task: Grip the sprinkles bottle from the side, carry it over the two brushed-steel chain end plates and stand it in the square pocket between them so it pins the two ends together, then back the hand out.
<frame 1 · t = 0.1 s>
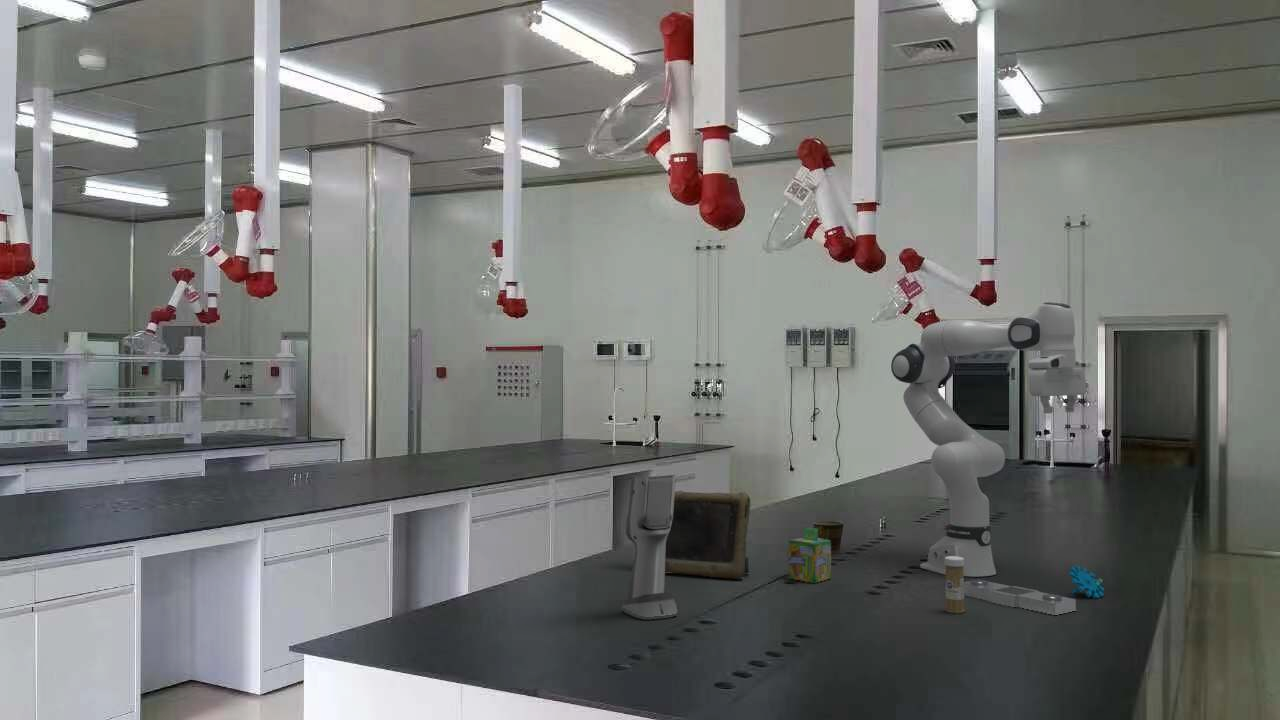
hand: (1059, 412, 265), 48 cm above the counter, tool pointing down, fingers open, 8 cm apart
chain ends: (1014, 602, 251), on the counter
chalk box: (810, 580, 283), on the counter
sprinkles bottle: (955, 612, 242), on the counter
thermal camera: (650, 614, 245), on the counter
ceramic cup: (826, 553, 325), on the counter
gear: (1087, 596, 258), on the counter
brown frame: (696, 574, 294), on the counter
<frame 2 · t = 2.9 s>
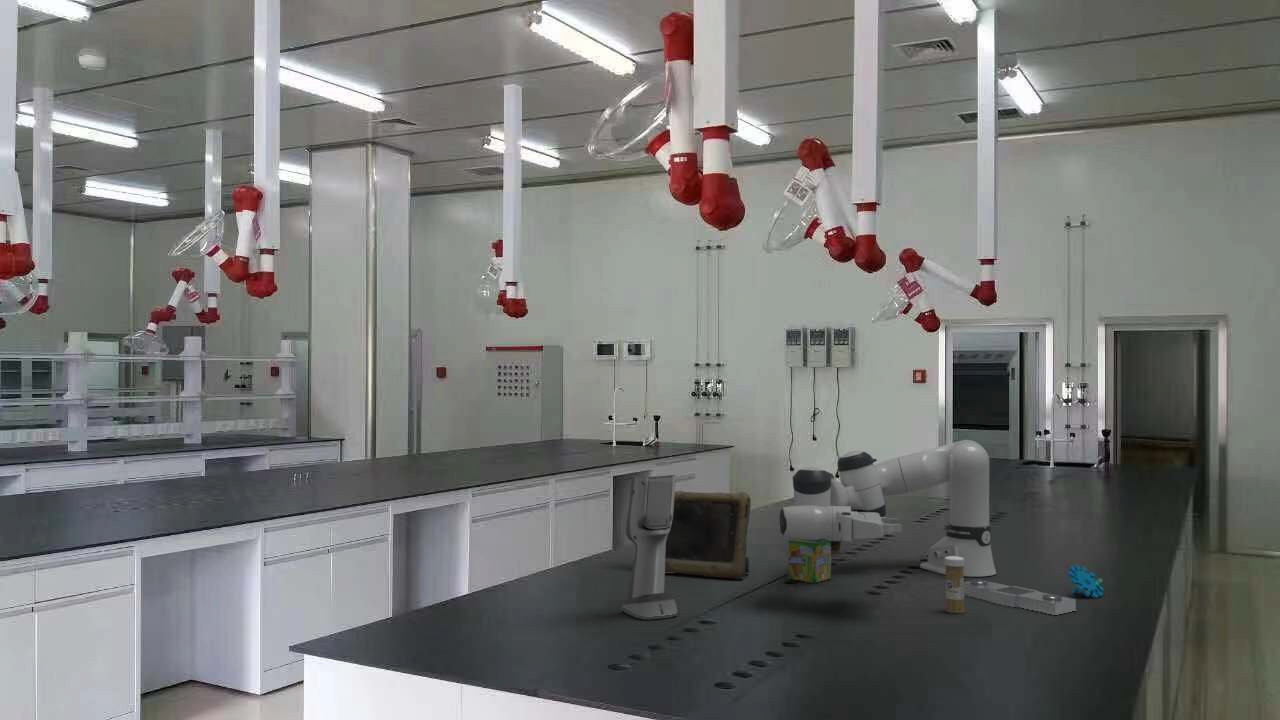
hand: (900, 525, 245), 21 cm above the counter, tool horizontal, fingers open, 8 cm apart
nothing on the counter moved.
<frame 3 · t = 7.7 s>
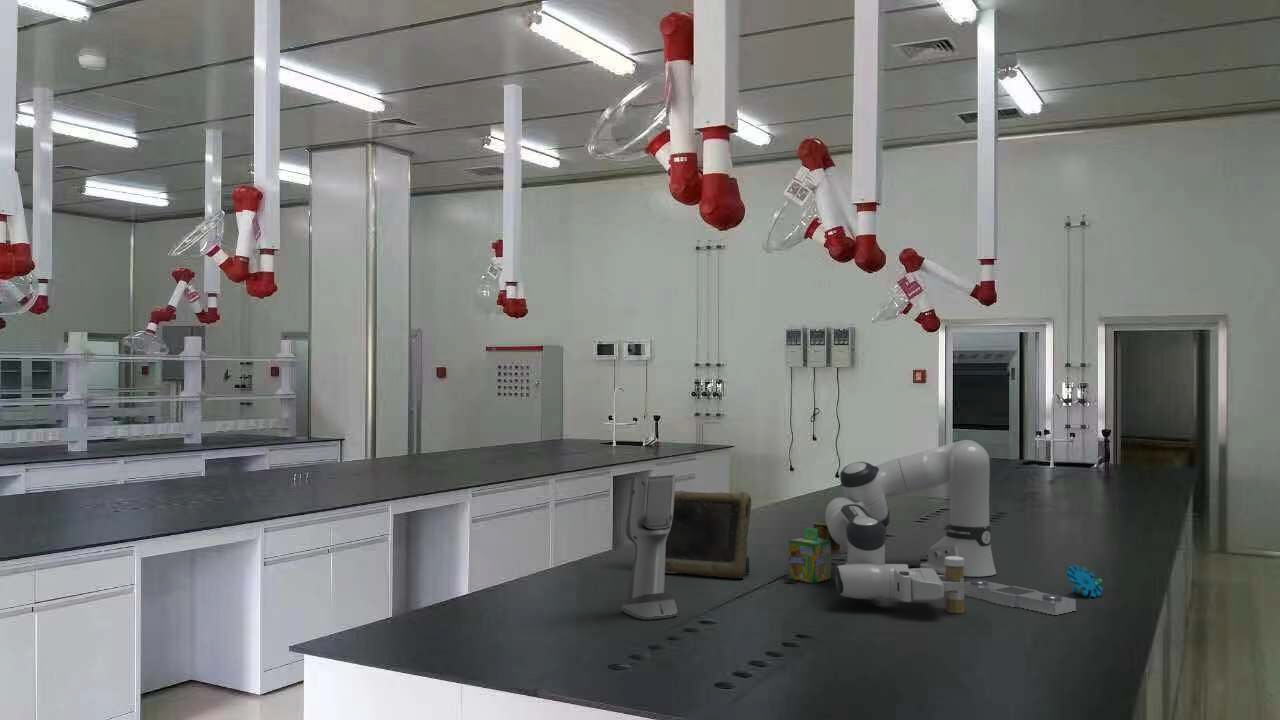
hand: (958, 583, 242), 7 cm above the counter, tool horizontal, fingers closed on sprinkles bottle, 4 cm apart
sprinkles bottle: (955, 612, 242), on the counter, touching gripper
everything else where it was.
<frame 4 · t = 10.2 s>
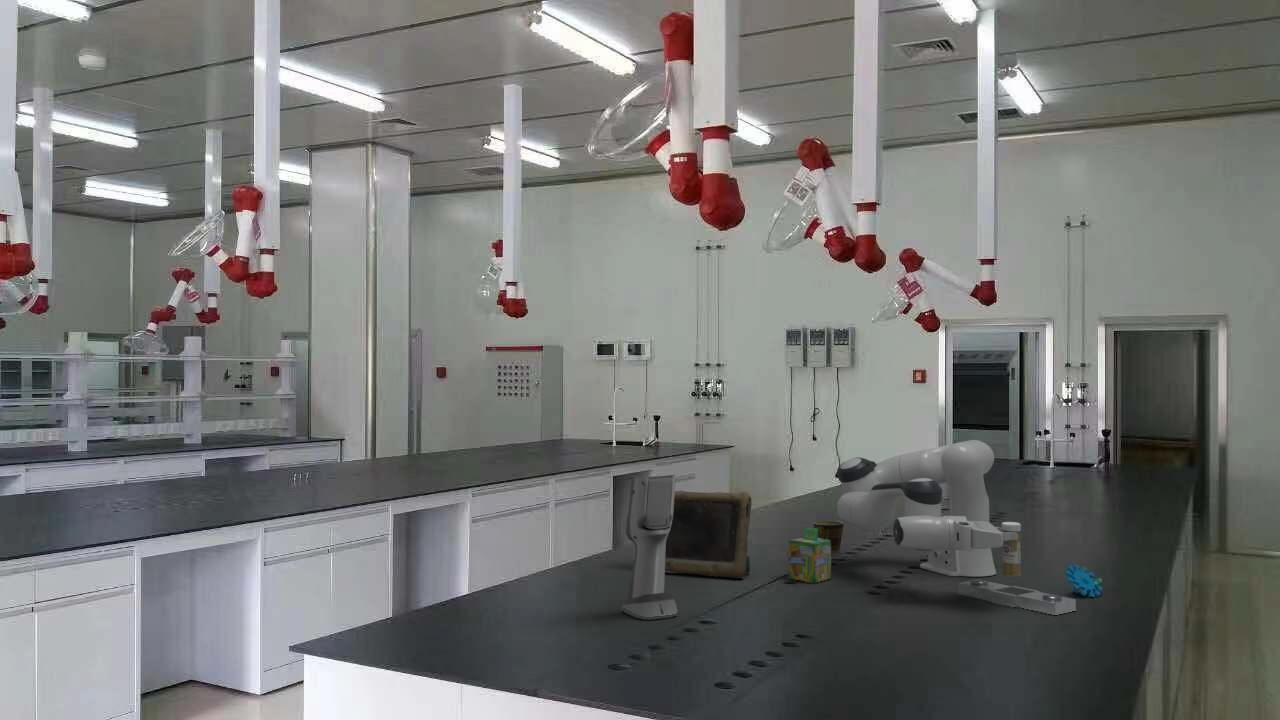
hand: (1015, 534, 251), 18 cm above the counter, tool horizontal, fingers closed on sprinkles bottle, 4 cm apart
sprinkles bottle: (1011, 576, 251), point 7 cm above the counter, touching gripper
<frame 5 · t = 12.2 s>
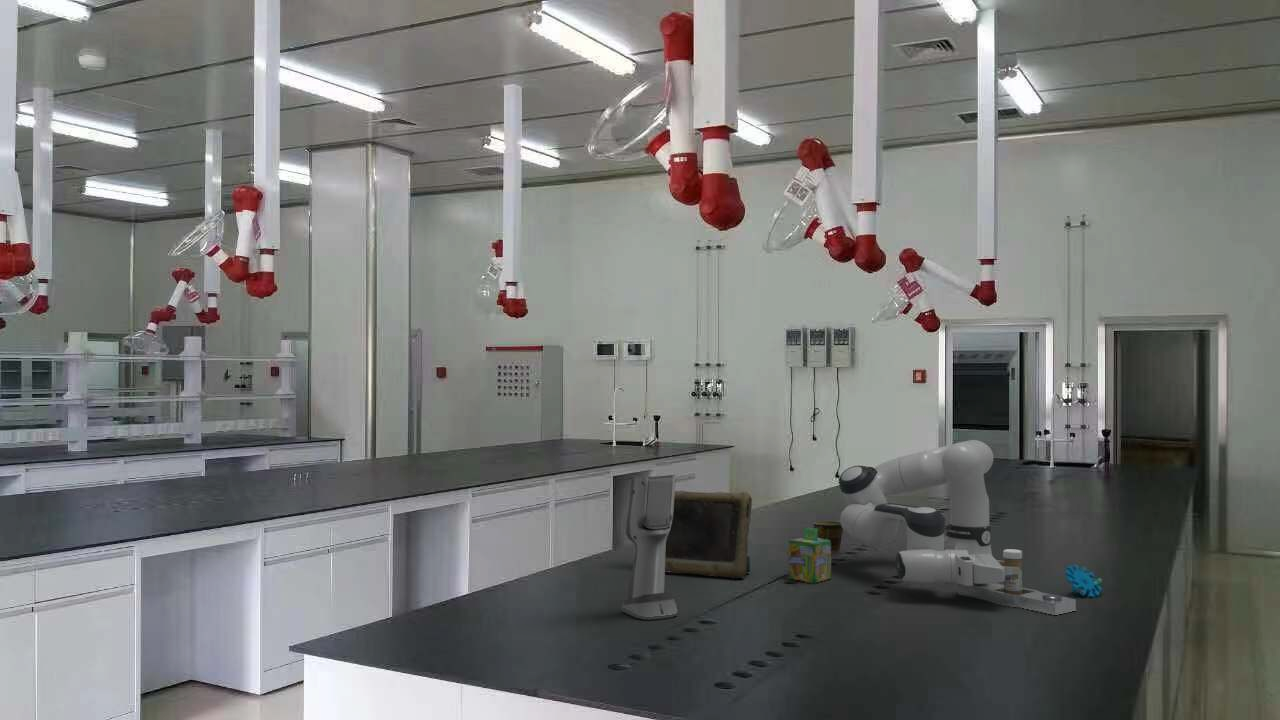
hand: (1017, 568, 251), 9 cm above the counter, tool horizontal, fingers closed on sprinkles bottle, 4 cm apart
sprinkles bottle: (1013, 603, 251), resting in chain ends, touching gripper
when the fingers open (9 cm above the counter, at t = 12.5 s): sprinkles bottle stays where it is, resting in chain ends.
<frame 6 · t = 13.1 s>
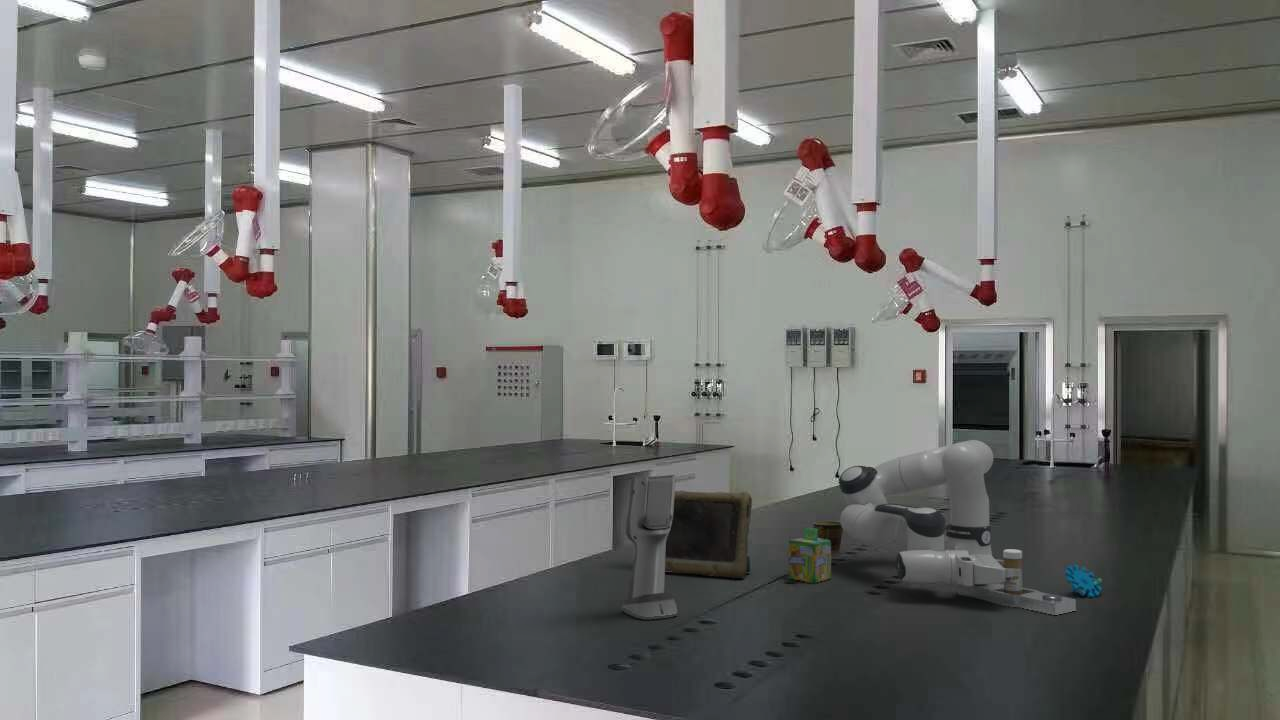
hand: (1017, 568, 251), 9 cm above the counter, tool horizontal, fingers open, 8 cm apart
sprinkles bottle: (1013, 603, 251), resting in chain ends
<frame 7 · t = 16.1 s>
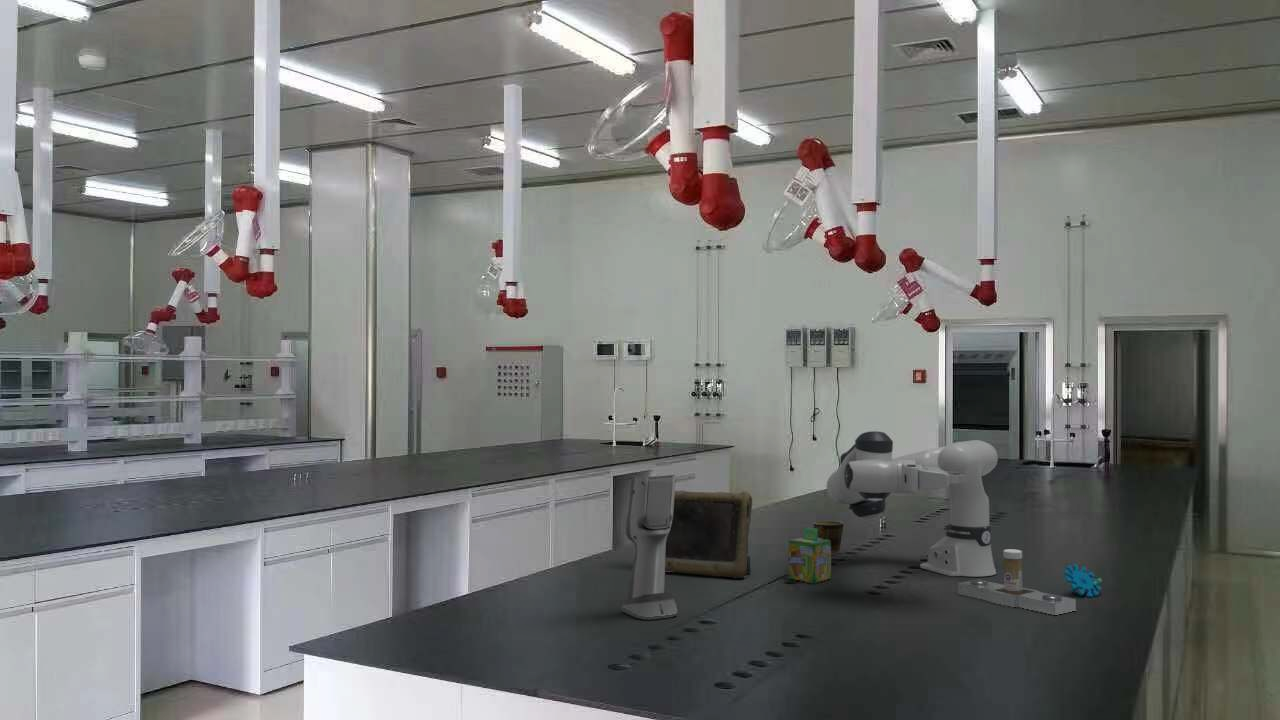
hand: (963, 477, 254), 32 cm above the counter, tool horizontal, fingers open, 8 cm apart
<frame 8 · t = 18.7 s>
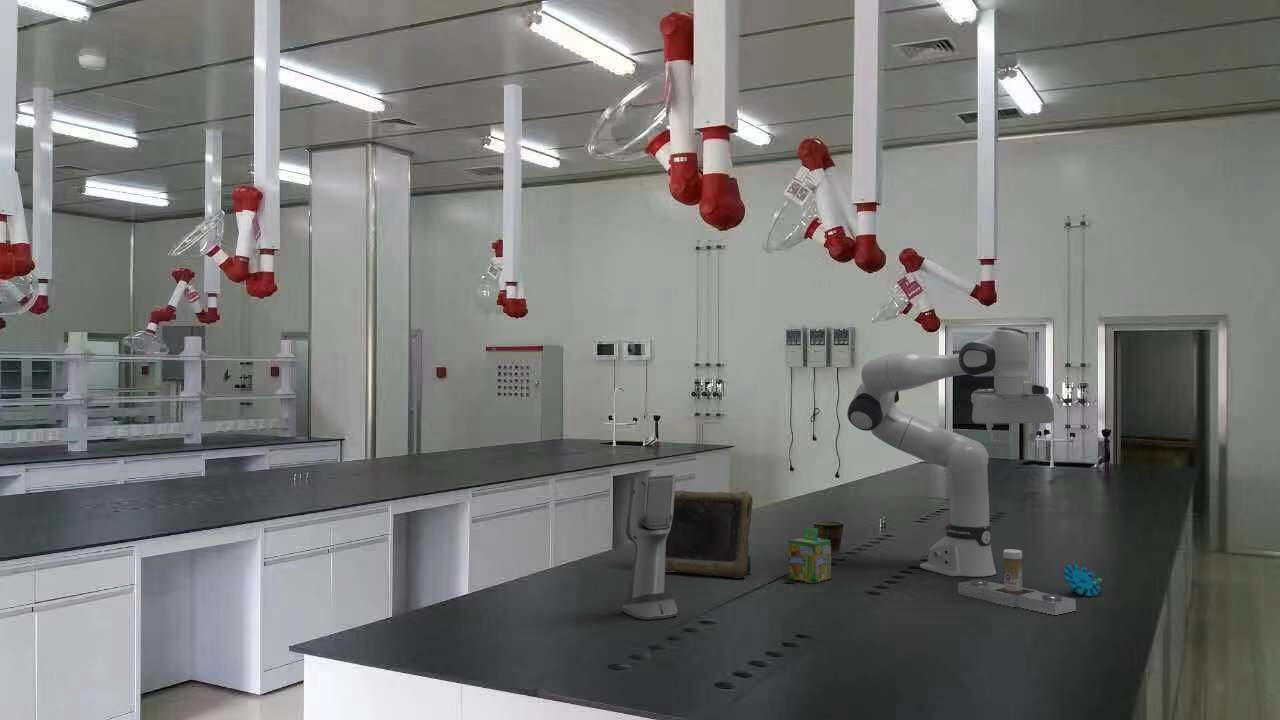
hand: (1013, 440, 259), 41 cm above the counter, tool pointing down, fingers open, 8 cm apart
at the end: sprinkles bottle inside the target area on the chain ends (0.3 cm from its centre), point 0.0 cm above the chain ends's base; sprinkles bottle tilted 0°; the gripper is holding nothing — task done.
